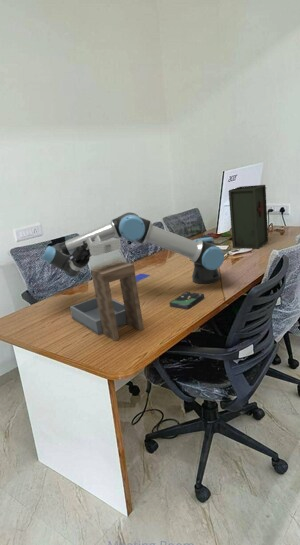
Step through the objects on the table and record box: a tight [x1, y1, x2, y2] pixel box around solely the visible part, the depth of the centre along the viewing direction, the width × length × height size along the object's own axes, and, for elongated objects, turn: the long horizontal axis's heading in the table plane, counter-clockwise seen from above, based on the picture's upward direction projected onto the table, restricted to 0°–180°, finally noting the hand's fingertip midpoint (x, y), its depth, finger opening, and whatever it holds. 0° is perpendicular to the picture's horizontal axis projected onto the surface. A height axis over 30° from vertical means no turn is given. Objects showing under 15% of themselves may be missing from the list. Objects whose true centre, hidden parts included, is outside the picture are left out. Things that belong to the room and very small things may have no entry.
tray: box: [69, 297, 127, 336], centre depth 170 cm, size 27×18×6 cm, turn 35°
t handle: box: [83, 237, 123, 257], centre depth 152 cm, size 19×12×4 cm, turn 35°
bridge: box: [90, 260, 145, 342], centre depth 151 cm, size 10×14×28 cm
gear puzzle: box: [200, 232, 232, 241], centre depth 297 cm, size 31×16×4 cm, turn 50°
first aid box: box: [228, 184, 269, 250], centre depth 256 cm, size 18×18×40 cm
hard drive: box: [135, 273, 151, 283], centre depth 222 cm, size 2×8×12 cm
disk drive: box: [169, 291, 205, 311], centre depth 176 cm, size 10×3×15 cm
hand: (94, 239), depth 152 cm, fingers closed on t handle, 3 cm apart
